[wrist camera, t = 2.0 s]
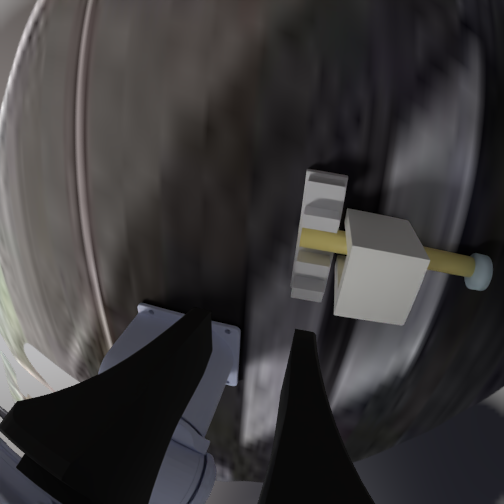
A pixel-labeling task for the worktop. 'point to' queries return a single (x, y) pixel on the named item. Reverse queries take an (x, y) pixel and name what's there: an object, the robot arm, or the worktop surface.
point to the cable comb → (319, 218)
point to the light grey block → (378, 268)
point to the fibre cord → (471, 267)
